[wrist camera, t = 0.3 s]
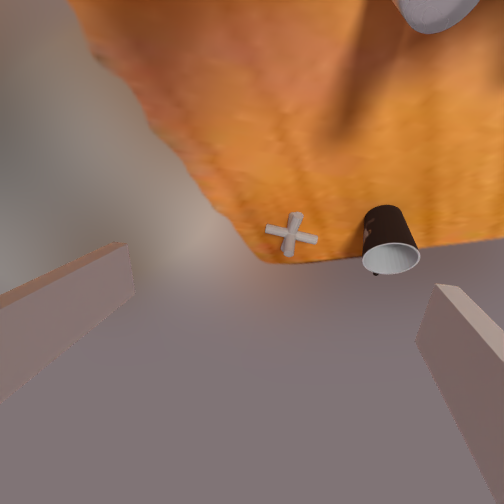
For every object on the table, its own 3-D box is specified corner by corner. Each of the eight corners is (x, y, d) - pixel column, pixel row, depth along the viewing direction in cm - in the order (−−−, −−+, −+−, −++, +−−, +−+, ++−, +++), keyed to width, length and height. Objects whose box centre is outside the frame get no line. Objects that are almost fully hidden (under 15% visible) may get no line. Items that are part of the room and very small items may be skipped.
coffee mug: (381, 192, 45) (389, 235, 39) (420, 212, 47) (433, 256, 41) (339, 231, 54) (340, 270, 48) (373, 246, 56) (378, 286, 50)
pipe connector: (309, 236, 57) (306, 274, 51) (265, 226, 57) (257, 262, 51) (326, 203, 49) (325, 243, 43) (274, 190, 49) (267, 229, 43)
